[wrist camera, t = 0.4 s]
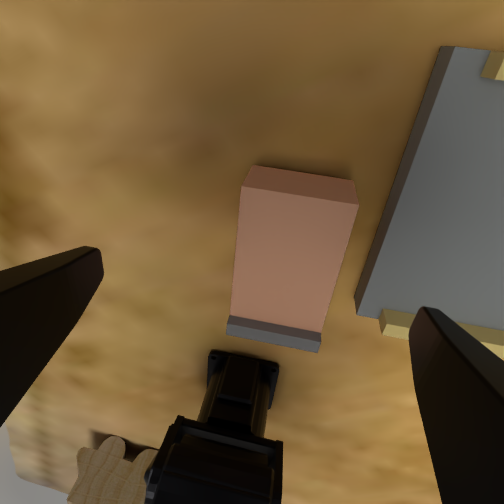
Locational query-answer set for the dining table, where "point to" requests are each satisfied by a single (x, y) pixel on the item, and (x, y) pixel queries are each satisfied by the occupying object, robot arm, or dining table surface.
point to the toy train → (110, 475)
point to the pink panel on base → (288, 254)
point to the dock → (446, 208)
